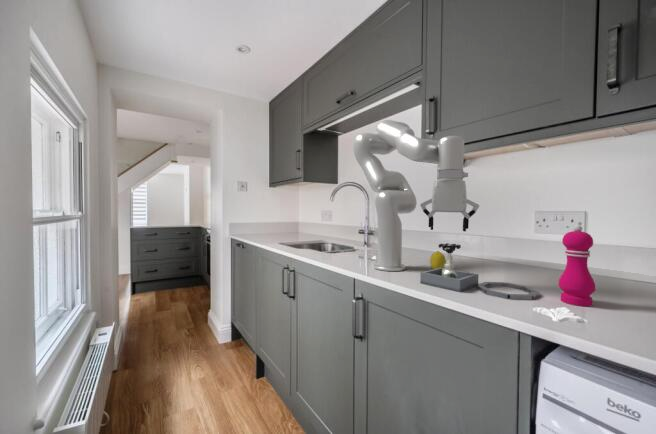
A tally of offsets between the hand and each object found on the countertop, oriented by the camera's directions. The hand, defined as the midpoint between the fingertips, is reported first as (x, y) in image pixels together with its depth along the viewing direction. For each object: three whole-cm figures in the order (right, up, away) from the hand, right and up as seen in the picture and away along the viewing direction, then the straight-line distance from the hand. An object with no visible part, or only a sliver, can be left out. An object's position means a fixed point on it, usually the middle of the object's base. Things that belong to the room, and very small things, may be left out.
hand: (447, 230), depth 93 cm
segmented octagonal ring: (+14, -18, -9) cm, 24 cm away
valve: (0, -17, 0) cm, 17 cm away
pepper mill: (+26, -18, -18) cm, 36 cm away
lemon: (+4, -17, +18) cm, 25 cm away
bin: (0, -17, 0) cm, 17 cm away
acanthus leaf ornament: (+14, -19, -28) cm, 36 cm away
